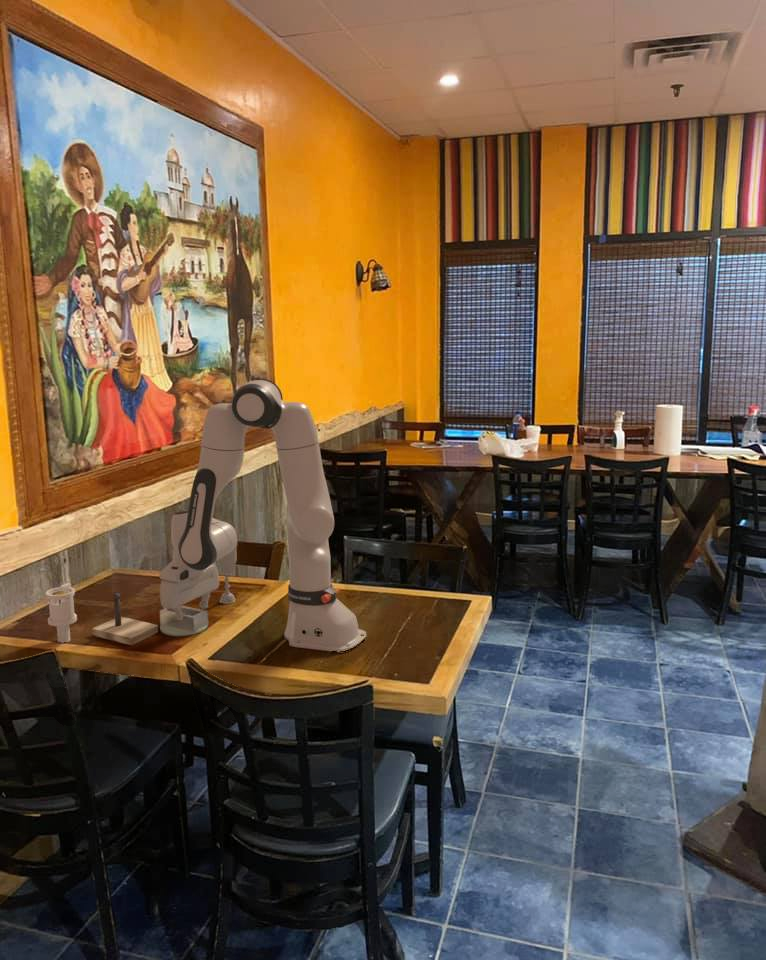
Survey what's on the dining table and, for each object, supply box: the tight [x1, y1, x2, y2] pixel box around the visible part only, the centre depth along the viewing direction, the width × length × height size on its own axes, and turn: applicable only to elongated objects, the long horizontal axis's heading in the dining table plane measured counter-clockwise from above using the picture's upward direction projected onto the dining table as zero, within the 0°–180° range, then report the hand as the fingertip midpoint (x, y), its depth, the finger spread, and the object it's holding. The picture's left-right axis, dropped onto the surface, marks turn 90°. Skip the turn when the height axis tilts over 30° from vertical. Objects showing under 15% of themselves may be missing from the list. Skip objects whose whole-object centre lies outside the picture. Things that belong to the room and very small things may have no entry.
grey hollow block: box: [159, 605, 209, 632], centre depth 211 cm, size 12×6×4 cm, turn 64°
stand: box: [91, 592, 159, 646], centre depth 206 cm, size 14×10×11 cm
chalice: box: [216, 542, 239, 605], centre depth 230 cm, size 7×7×18 cm
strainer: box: [45, 582, 78, 644], centre depth 201 cm, size 7×7×15 cm
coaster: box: [159, 624, 209, 637], centre depth 212 cm, size 13×13×1 cm
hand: (192, 613), depth 211 cm, fingers open, 8 cm apart
